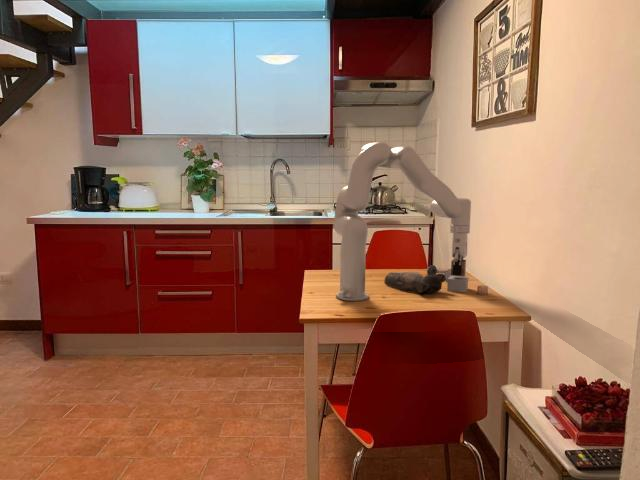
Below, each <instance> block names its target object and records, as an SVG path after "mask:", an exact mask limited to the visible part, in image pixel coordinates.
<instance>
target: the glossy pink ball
mask: <svg viewBox="0 0 640 480" xmlns="http://www.w3.org/2000/svg"><path fill="white" fill-rule="evenodd" d="M476 287H477V290H476V293H477V295H480V296H487V295H489V286H487V285H481V284H479V285H477V286H476Z"/></svg>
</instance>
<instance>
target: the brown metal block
mask: <svg viewBox="0 0 640 480" xmlns="http://www.w3.org/2000/svg"><path fill="white" fill-rule="evenodd" d="M458 260H460V259H458ZM453 265H454V258H453V259H452V260H451V264H450V267H451V268H450V269H451V276H462V277H464V275H466V269H467V268H466V267H467V266H466V265H467V259H463V260H462V259H461V265H462V268H461V275H453Z"/></svg>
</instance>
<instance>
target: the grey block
mask: <svg viewBox="0 0 640 480" xmlns="http://www.w3.org/2000/svg"><path fill="white" fill-rule="evenodd" d="M446 289H447V291H449V292H458V293H467V290H468V289H469V277H468V276H466V277H461V276H450V277H449V278H448V282H447V286H446Z"/></svg>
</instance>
